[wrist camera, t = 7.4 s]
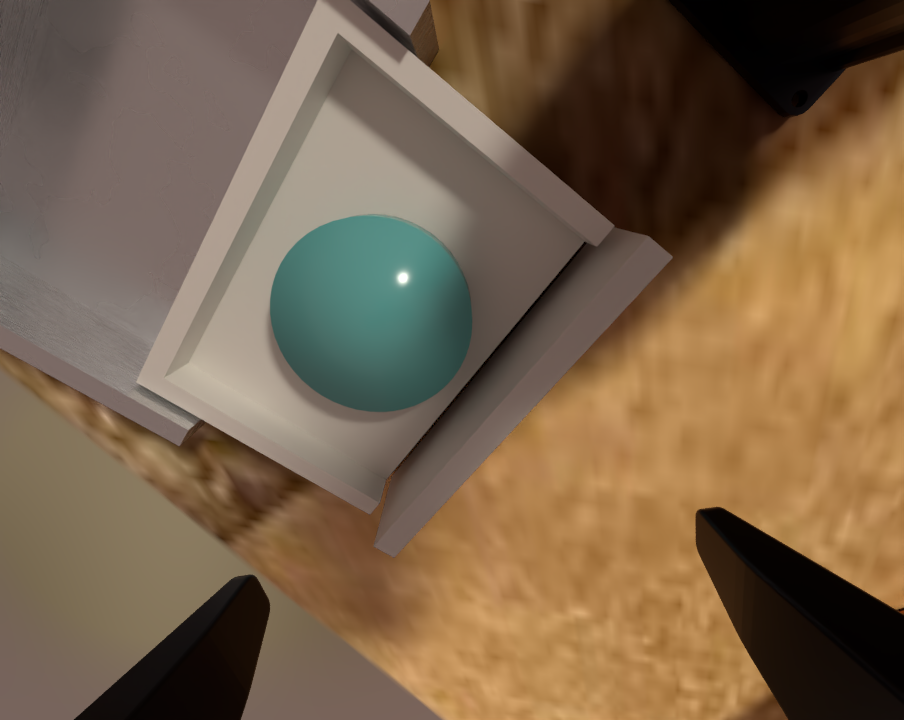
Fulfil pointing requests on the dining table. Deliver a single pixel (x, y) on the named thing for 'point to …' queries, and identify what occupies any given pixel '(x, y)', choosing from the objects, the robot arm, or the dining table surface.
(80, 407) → the dining table surface
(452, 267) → the teal hemisphere
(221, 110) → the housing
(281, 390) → the tray
